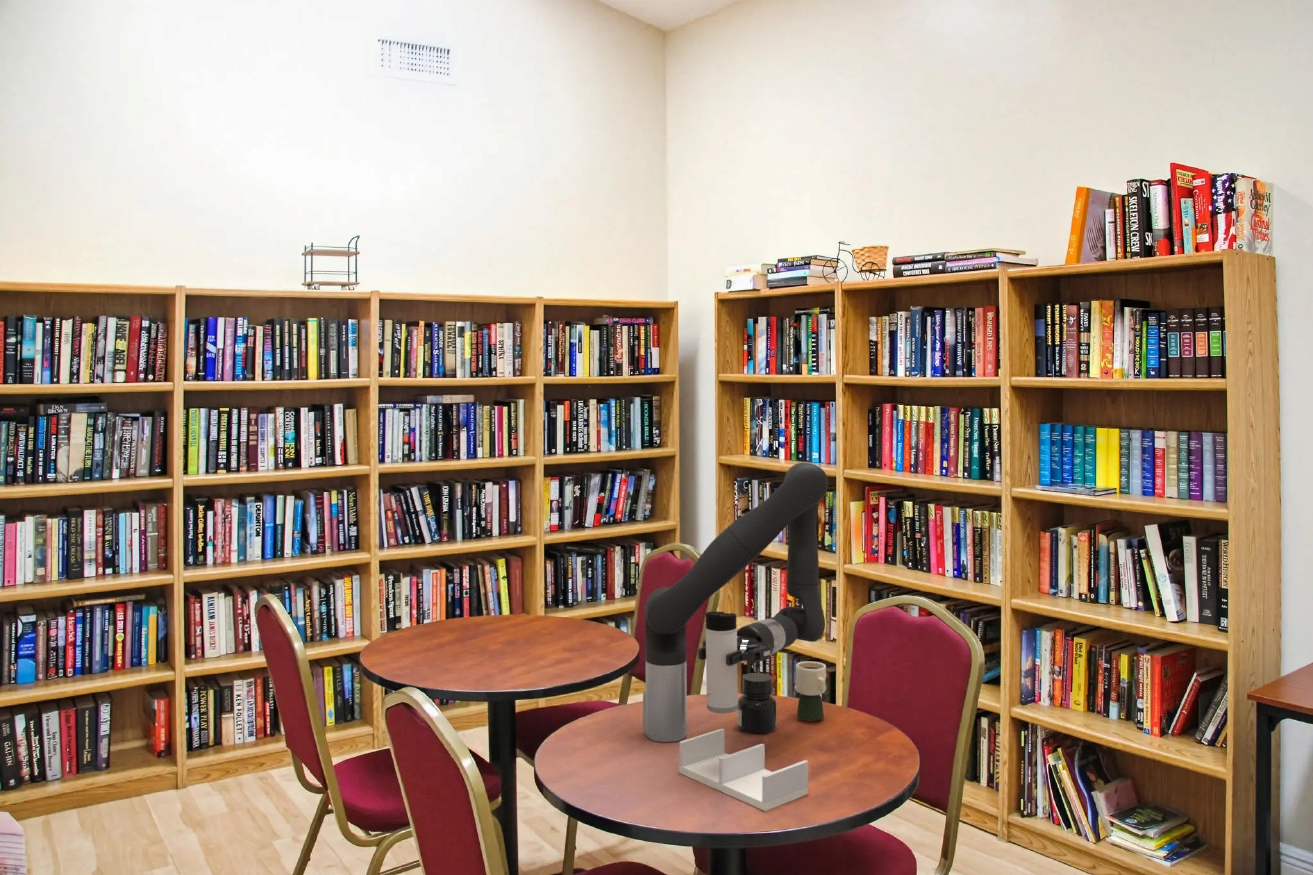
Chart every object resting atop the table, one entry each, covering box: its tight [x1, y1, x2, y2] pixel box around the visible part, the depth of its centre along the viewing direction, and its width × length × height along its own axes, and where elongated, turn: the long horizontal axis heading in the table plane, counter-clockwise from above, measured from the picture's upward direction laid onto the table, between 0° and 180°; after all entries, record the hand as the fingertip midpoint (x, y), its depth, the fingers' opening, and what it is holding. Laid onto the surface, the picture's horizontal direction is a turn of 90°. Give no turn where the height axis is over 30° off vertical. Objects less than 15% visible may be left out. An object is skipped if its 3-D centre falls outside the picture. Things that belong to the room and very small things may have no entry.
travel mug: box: [705, 611, 739, 715], centre depth 204 cm, size 6×7×20 cm
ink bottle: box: [736, 672, 777, 735], centre depth 234 cm, size 10×9×12 cm
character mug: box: [795, 660, 827, 722], centre depth 240 cm, size 11×7×13 cm, turn 25°
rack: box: [679, 728, 809, 812], centre depth 202 cm, size 24×12×6 cm, turn 41°
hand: (713, 657), depth 202 cm, fingers closed on travel mug, 6 cm apart
